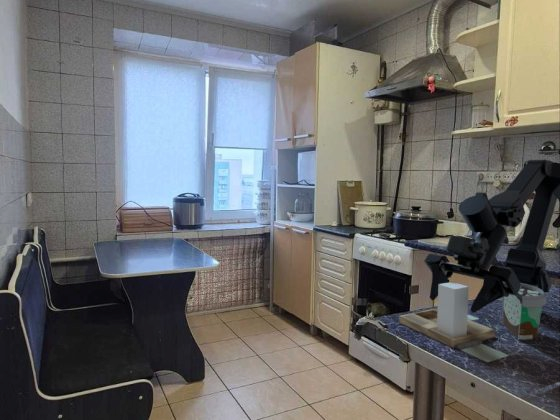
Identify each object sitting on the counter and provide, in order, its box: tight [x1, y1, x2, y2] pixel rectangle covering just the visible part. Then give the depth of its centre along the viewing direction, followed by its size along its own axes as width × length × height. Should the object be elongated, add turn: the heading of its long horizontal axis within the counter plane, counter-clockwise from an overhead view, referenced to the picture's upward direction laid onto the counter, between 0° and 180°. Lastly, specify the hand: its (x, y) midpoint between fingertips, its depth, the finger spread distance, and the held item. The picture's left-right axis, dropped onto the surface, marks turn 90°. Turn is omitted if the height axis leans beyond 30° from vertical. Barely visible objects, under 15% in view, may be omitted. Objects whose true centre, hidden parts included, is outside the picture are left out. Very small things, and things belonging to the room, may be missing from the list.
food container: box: [502, 283, 547, 342], centre depth 85 cm, size 12×6×10 cm, turn 168°
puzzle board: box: [398, 307, 510, 363], centre depth 86 cm, size 18×22×2 cm
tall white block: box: [437, 281, 470, 339], centre depth 82 cm, size 4×4×11 cm
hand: (450, 304), depth 82 cm, fingers open, 9 cm apart
